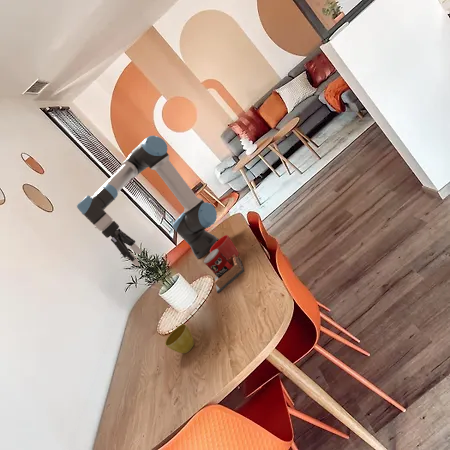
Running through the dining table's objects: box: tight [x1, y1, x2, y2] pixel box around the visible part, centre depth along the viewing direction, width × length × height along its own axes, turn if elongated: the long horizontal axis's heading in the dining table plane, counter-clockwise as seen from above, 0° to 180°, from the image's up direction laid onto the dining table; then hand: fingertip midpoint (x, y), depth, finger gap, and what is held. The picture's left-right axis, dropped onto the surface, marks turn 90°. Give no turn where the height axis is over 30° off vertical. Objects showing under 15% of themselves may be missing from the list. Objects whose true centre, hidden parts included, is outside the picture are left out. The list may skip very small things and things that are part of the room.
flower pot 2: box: [209, 234, 240, 260], centre depth 224 cm, size 11×11×10 cm
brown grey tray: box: [212, 255, 245, 294], centre depth 210 cm, size 16×14×4 cm
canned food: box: [203, 249, 233, 278], centre depth 209 cm, size 8×8×11 cm
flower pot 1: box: [164, 323, 195, 354], centre depth 180 cm, size 10×10×7 cm
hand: (140, 260), depth 225 cm, fingers open, 13 cm apart
